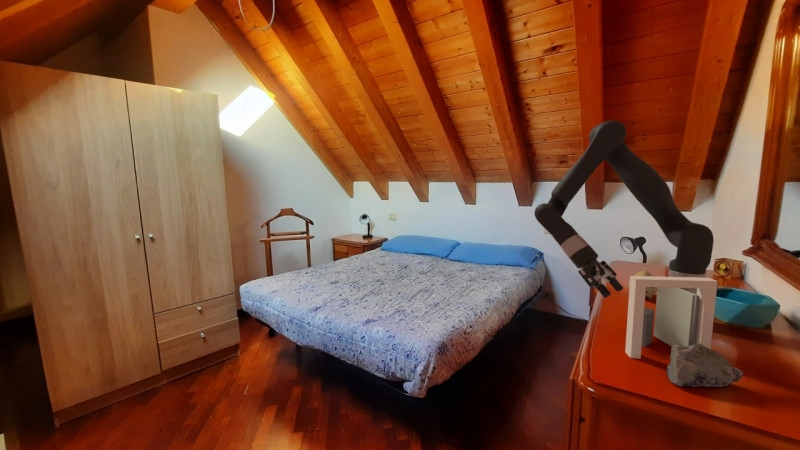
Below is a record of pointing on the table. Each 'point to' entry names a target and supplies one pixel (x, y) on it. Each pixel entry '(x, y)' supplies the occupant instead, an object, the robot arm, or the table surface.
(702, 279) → the door frame
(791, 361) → the table surface
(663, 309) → the door
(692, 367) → the mineral rock
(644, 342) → the block
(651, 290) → the toy pig
